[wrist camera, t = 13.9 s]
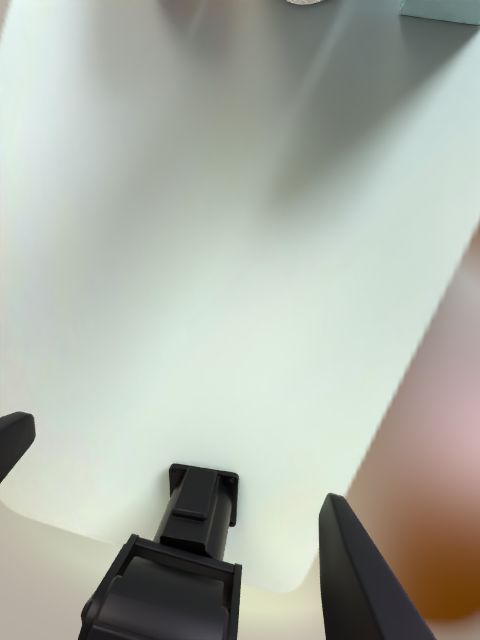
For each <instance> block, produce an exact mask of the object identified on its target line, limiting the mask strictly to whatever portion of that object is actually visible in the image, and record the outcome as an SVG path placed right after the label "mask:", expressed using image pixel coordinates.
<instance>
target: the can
mask: <svg viewBox="0 0 480 640" xmlns="http://www.w3.org/2000/svg"><path fill="white" fill-rule="evenodd" d="M286 1H289V2H291V3H294V4H301V5H304V4H313V3H317V2H320V1H323V0H286Z"/></svg>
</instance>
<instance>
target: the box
mask: <svg viewBox="0 0 480 640" xmlns="http://www.w3.org/2000/svg"><path fill="white" fill-rule="evenodd" d="M399 14H401V15H408V16H415V17H423V18H430V19H437V20H444V21H452V22H459V23H466V24H473V25H480V0H403V1H402V4H401V8H400V11H399Z"/></svg>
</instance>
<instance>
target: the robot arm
mask: <svg viewBox="0 0 480 640" xmlns="http://www.w3.org/2000/svg"><path fill="white" fill-rule="evenodd" d="M35 436H36V433H35V422H34V417H33V415H32V414H28V413H25V412H15V413H12V414H9V415H6V416H3V417H1V418H0V483H1V482H2V481H3V479H4V478H5V477H6V476H7V474H8V473H9V472H10V471H11V469H12V468H13V467H14V466H15V464H16V463H17V462H18V461H19V459H20V458H21V457H22V456H23V454H24V453H25V452H26V451H27V449H28V448H29V447H30V446H31V444H32V443H33V441H34V439H35ZM232 478H233V479H232ZM169 481H170V501H169V503H168V505H167V508H166V510H165V513H164V515H163V518H162V520H161V523H160V525H159V528H158V530H157V533H156V535H155V538H154V540H153V541H151V540H147V539H144V538H140V537H139V535H135V534H132V535H131V536H130V538H129V540H128V541H127V543H126V544H124V545H123V547H122V549H121V550H120V552H119V554H118V555H117V557H116V558H115V560H114V562H113V563H112V565H111V567H110V568H109V570H108V572H107V573H106V575H105V577H104V578H103V580H102V581H101V583H100V585H99V586H98V588H97V590H96V591H95V592H94V594H93V595H92V596H91V598H90V599H89V600H88V602H87V603H86V604H85V606H84V608H83V610H82V613H81V620H82V628H81V631H80V634H79V637H78V640H237V632H238V618H239V604H240V588H241V574H242V565H240V564H236V563H235V565H234V564H230V563H227V562H224V561H223V556H224V550H225V544H226V539H227V533H228V527H234V526H235V525H236V517H237V500H238V483H239V476H238V475H237V474H236V473H233V472H226V471H220V470H213V469H207V468H200V467H194V466H188V465H181V464H172V465H171V466H170V468H169ZM319 554H320V555H319V557H320V587H321V599H322V608H323V617H324V626H325V635H326V640H437V639H436V638H435V636H434V635H433V633H432V632H431V630H430V629H429V627H428V625H427V624H426V622H425V621H424V619H423V618H422V617H421V615H420V613H419V612H418V610H417V608H416V607H415V605H414V604H413V602H412V601H411V599H410V598H409V596H408V595H407V593H406V592H405V590H404V589H403V587H402V585H401V584H400V582H399V581H398V579H397V578H396V576H395V575H394V573H393V572H392V570H391V569H390V567H389V565H388V564H387V562H386V561H385V559H384V558H383V556H382V555H381V553H380V552H379V550H378V549H377V547H376V546H375V544H374V542H373V541H372V539H371V538H370V536H369V535H368V533H367V532H366V530H365V529H364V527H363V526H362V524H361V522H360V521H359V519H358V518H357V516H356V515H355V513H354V512H353V510H352V509H351V507H350V506H349V504H348V503H347V501H346V500H345V498H344V497H343V496H340V495H336V494H333V493H328V494H327V496H326V498H325V501H324V503H323V505H322V508H321V510H320V513H319Z"/></svg>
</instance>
